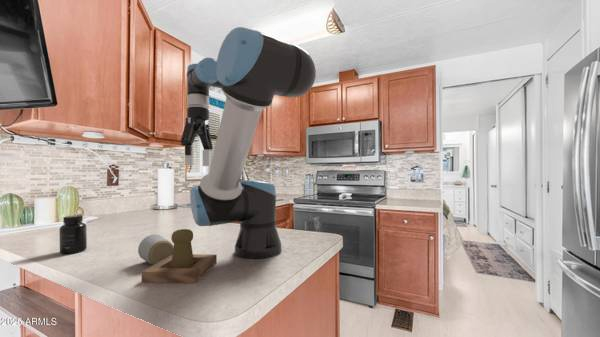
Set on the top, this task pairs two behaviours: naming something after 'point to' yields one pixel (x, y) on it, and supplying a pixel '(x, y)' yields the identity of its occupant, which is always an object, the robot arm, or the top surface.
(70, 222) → the supplement bottle
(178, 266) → the olive rounded upright piece
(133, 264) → the top surface
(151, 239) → the ceramic mug
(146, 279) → the socket block
